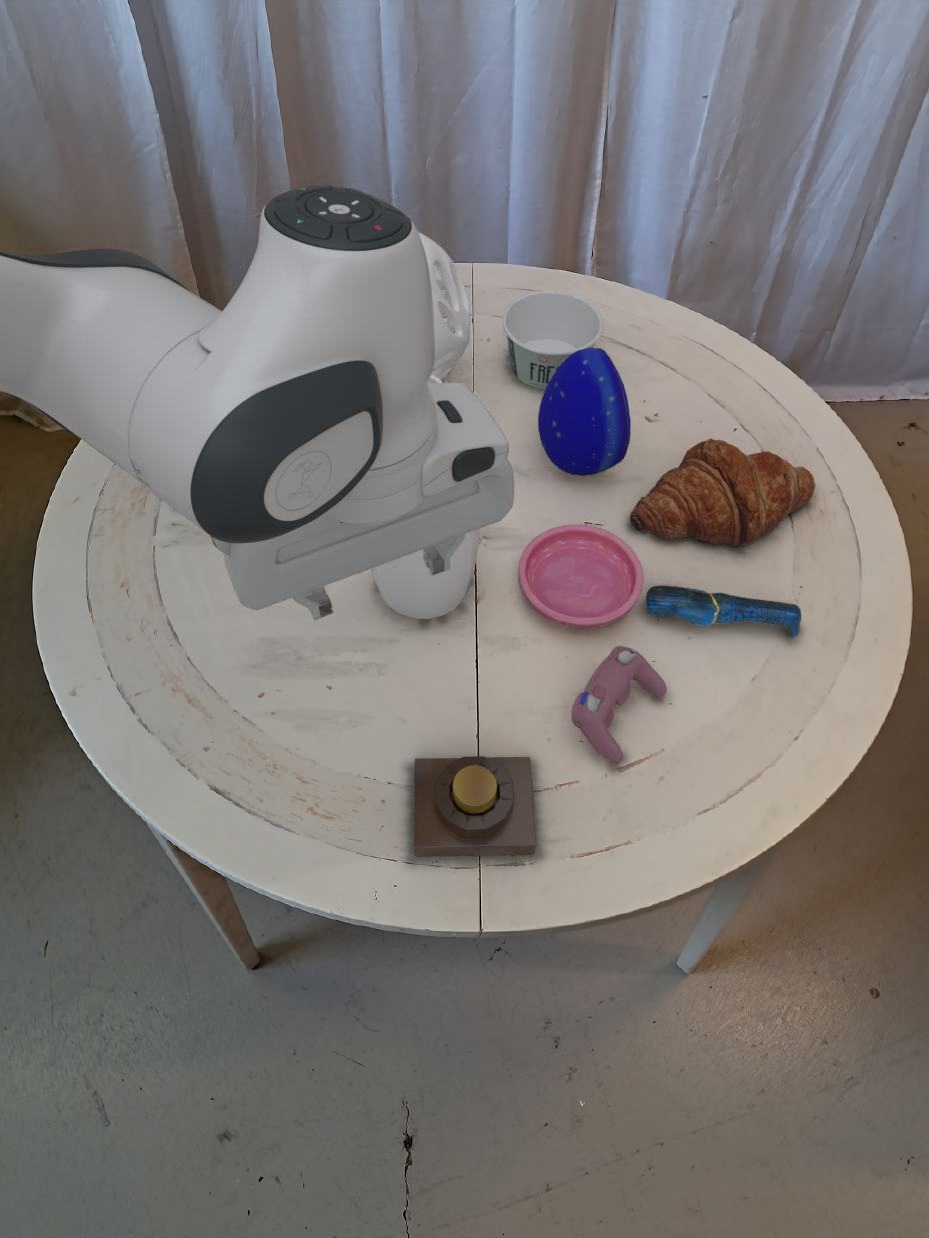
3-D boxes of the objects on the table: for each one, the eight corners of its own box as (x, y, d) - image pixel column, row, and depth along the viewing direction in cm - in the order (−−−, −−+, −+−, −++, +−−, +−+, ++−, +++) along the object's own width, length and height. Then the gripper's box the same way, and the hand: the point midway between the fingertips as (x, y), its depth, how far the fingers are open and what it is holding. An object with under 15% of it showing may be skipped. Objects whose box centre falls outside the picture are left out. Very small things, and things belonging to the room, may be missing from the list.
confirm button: (453, 814, 72) (453, 806, 71) (452, 774, 74) (452, 765, 73) (497, 813, 72) (498, 805, 71) (495, 773, 74) (495, 764, 73)
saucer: (552, 658, 85) (556, 639, 82) (495, 566, 91) (497, 546, 89) (661, 614, 88) (668, 595, 86) (599, 528, 95) (603, 508, 92)
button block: (415, 857, 74) (413, 839, 70) (415, 769, 78) (414, 748, 75) (534, 854, 74) (538, 837, 71) (528, 767, 78) (531, 747, 75)
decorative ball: (481, 426, 103) (486, 296, 89) (311, 442, 101) (289, 312, 87) (456, 321, 115) (457, 190, 100) (302, 333, 113) (281, 202, 98)
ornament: (633, 485, 98) (660, 378, 86) (557, 504, 96) (574, 398, 84) (593, 420, 104) (613, 311, 92) (521, 437, 102) (531, 329, 90)
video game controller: (630, 681, 86) (612, 629, 81) (672, 691, 83) (655, 638, 78) (578, 756, 81) (555, 704, 77) (620, 770, 78) (599, 717, 74)
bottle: (367, 547, 93) (344, 347, 72) (473, 540, 93) (480, 341, 73) (370, 634, 86) (346, 443, 65) (483, 627, 87) (495, 436, 66)
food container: (576, 328, 114) (583, 283, 109) (609, 388, 108) (618, 344, 102) (487, 343, 112) (489, 298, 107) (516, 405, 106) (519, 360, 100)
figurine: (791, 620, 89) (641, 604, 90) (801, 589, 87) (647, 573, 88) (799, 649, 85) (642, 632, 87) (809, 617, 83) (648, 601, 84)
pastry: (690, 436, 103) (706, 382, 96) (816, 490, 98) (842, 437, 92) (624, 527, 95) (637, 475, 88) (758, 590, 90) (783, 540, 84)
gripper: (217, 545, 50) (259, 672, 61) (532, 436, 55) (518, 572, 67) (185, 472, 53) (231, 606, 65) (486, 376, 59) (480, 515, 70)
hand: (379, 588), depth 66 cm, fingers open, 8 cm apart
